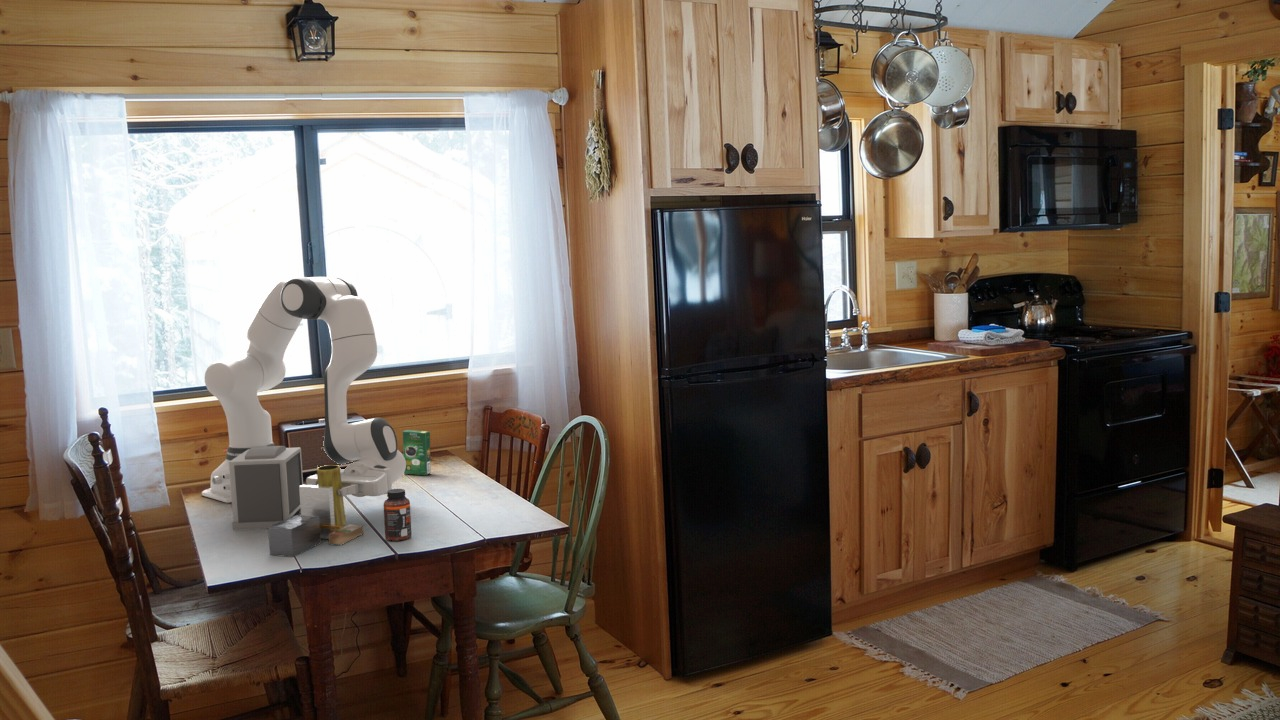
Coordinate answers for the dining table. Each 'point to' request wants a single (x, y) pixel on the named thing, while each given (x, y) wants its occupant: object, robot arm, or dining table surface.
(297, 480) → the grey box
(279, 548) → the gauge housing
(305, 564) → the dining table surface
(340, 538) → the rail
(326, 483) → the vase
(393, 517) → the supplement bottle
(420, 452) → the coffee box
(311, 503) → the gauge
